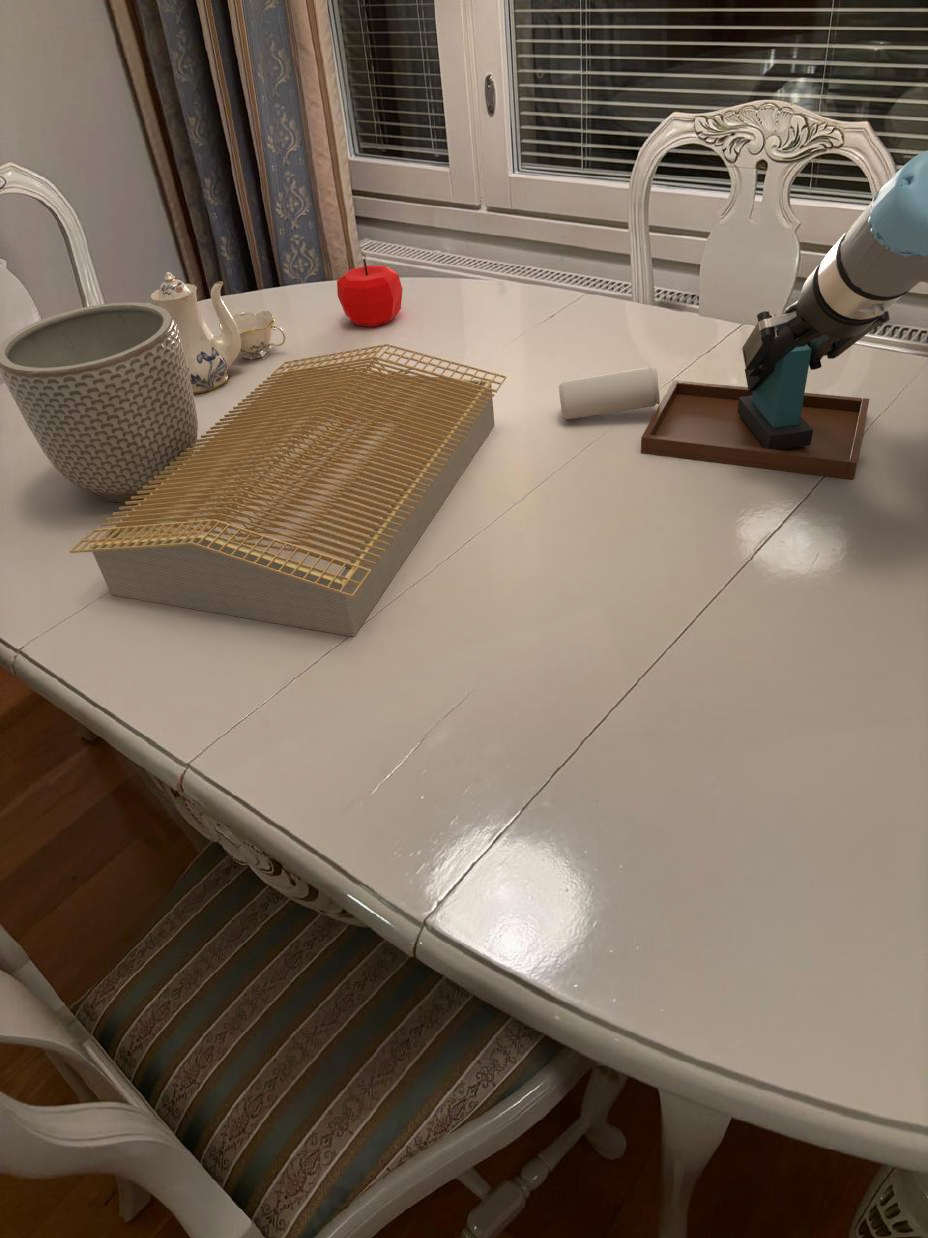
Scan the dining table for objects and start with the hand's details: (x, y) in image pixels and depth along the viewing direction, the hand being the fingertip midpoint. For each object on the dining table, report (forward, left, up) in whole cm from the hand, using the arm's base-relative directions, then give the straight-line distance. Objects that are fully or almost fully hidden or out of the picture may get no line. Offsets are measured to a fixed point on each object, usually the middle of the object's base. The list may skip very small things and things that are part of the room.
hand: (765, 377), depth 105 cm
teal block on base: (-2, +3, -5) cm, 6 cm away
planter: (+70, +33, -6) cm, 77 cm away
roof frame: (+44, +31, -6) cm, 54 cm away
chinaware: (+82, +4, -6) cm, 82 cm away
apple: (+65, -21, -6) cm, 68 cm away
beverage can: (+24, +5, -3) cm, 25 cm away
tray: (0, +3, -6) cm, 7 cm away
